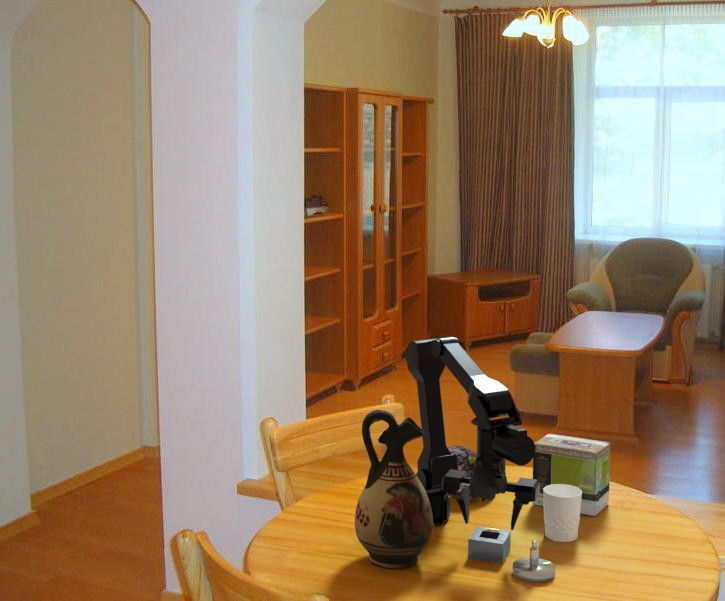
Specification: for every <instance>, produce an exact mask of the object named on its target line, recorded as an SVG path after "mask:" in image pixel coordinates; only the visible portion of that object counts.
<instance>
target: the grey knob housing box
mask: <svg viewBox="0 0 725 601" xmlns="http://www.w3.org/2000/svg"><path fill="white" fill-rule="evenodd" d="M511 532H512V530H509V529H499V528H493V527H492V528H491V527H485V526H478V525H477V526H476V527H475V528H474V530H473V531H472V533H471V534H470V536H469V537H468V540H467V544H468V545H467V559H471V560H475V561H476V560H477V561H478V560H479V561H482V562H483V561H485V562H491V563H498V564H504V562H505V561H506V558H507V556H508V555H509V553H510V551H511V540H512V539H511V537H512V536H511V535H512V534H511Z"/></svg>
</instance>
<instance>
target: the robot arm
mask: <svg viewBox="0 0 725 601" xmlns="http://www.w3.org/2000/svg"><path fill="white" fill-rule="evenodd" d="M404 357H405V361H406V364H407V369H408V371H409V373H410V375H411V376H412V377H413V379H415V382H416V387H417V388H416V389H417V396H418V397H417V398H418V408H419V416H420V426H421V427H420V428H421V429H422V430H423V431H424V432H425V433H426V435H425V436H422V437H421V438H422V445H423V446H422V451H421V453H420V455H419V456H418V459H417V472H415V474H416V476H417V477H418V479H419V481H420V482H421V484H422V486H423V487H424V489H425V491H426V494H427V496H428V499H429V502H430V504H431V509H432V515H433V525H444V524H445V523H446V521H447V520H448V519H449V517H450V516H451V497H449V496H452V497H453V498H454V499H455V500H456V502H457V503H458V504H457V505H458V507H459V509H460V511H461V515H462V518H463V522H464V523H465V524H466V525H468V524H469V522H470V501H469V487H470V496H471V497H472V499H481V498H482V499H486V500H485V501H488V500H489V501H493V500H494V499H496V495H500V494H504V495H505V494H506V493H507V492H508V493H514V499H513V501H512V513H511V521H510V531H514V529H515V527H516V524H517V522H518V519H519V516H520V513H521V511H522V509H523V506H527V505H529V504H530V503H532V502H534V501H535V500H536V499H537V497H538V495H539V493H540V483H539V482H538V480H537V479H533V478H526V477H519V479H518V480H517V482H513V481H508V479H507V475H506V474H507V472H506V465H507V464H506V462H507V461H508V462H510V463H512V464H515V465H517V466H520V467H521V466H522V467H523V466H526V465H528V464H529V463H531V461H533V457H534V454H535V450H536V446H535V444H534V443H535V442H534V440H533V438H531V436H528V429H526V428H523V427H520V426H522V425H523V422H522V419H521V414H520V412H519V410H518V408H517V406H516V403H515V401H514V398H513V396H512V393H511V392H510V390H509V389H508V388H507V387H506V386H505V385H503V384H502V383H500V382H499V381H498V380H495V379H493V378H490V377H488V376H487V375H486V374H485V373H484V372H483V371H482V370H481V368H479V366H478V365H477V363H476V362H474V360H473V359H472V358H471V357H470V355H468V353H467V352H466V351H465V350H464V348H463V347H462V346H461V343H460V340H459V339H458V338H457V337H454V336H446V337H445V336H444V337H438V338H429V339H428V338H427V339H419V340H418V339H417V340H411V341H410V342H409V343H408V344H407V346H406V347H405V350H404ZM446 368H447V369H448V370H449V372H450V373H451V374H452V376H453V377H454V378H455V380H456V381H457V382H458V383H459V384H460V385H461V387H462V388H463V389H464V390H465V392H466V393H467V404H468V405H469V407H470V409H471V410H472V413H473V414H474V416H475V417H474V418H472V419H471V421H470V423H471V424H472V425H473V426H476V455H477V456H476V462H475V468H474V470H473V474H472V476H471V477H467V476H468V474H467V471H461V470H458V466H457V457H456V455H455V454H452V453H451V452H450V451H449V449H448V446H447V440H446V429H445V421H444V411H443V402H442V401H443V400H442V399H443V398H442V391H441V378H442V375H443V373H444V371H445V369H446ZM506 416H507V417H506ZM500 417H502V418H500ZM495 418H496V419H495ZM506 460H507V461H506ZM482 499H481V500H482Z"/></svg>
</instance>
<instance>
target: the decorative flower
mask: <svg viewBox="0 0 725 601" xmlns="http://www.w3.org/2000/svg"><path fill="white" fill-rule="evenodd" d="M447 448H448V449H449V451H450V452H451V453H452V454H455V455H456V457H457V466H458V470H461V471H467V474H468V476H467V477H471V476H472V474H473V470H474V468H475V462H476V456H477V453H476V452H474V451H473V450H471V449H470V448H468V447H465V446H460V445H452V446H449V447H448V446H447ZM480 499H481V502H482V503H484V502H485V501H490V500H486V499H482V498H480ZM471 500H473V498H472V497H471V496H470V487H469V502H470V501H471Z"/></svg>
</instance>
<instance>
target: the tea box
mask: <svg viewBox="0 0 725 601" xmlns="http://www.w3.org/2000/svg"><path fill="white" fill-rule="evenodd" d="M534 444H535V446H536V450H535V454H534V457H533V459H532V479H537V480H538V482H539V483H540V493H539V495H538V497H537V499H536V500H535V501H534V502H531V503H532V505H535V506H540V507H544V501H543V489H544V487H546V486H548V485H552V484H566V485H572V486H575V487H578V488H579V489H581V490H582V499H581V512H580V515H587V516H591V517H596V516H597V515H598V514H599V513H600V512H602V511H603V509H604V508H606V507H607V506H608V505H609V500H610V499H609V498H610V477H611V473H610V472H611V471H610V469H611V468H610V467H611V442H609V441H603V440H596V439H591V438H589V439H588V438H582V437H578V436H576V437H575V436H569V435H562V434H557V433H556V434H555V433H550V432H549V433H547V434H546V435H545V436H543V437H542V438H540V439H538V440H536V441H535V442H534Z"/></svg>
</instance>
